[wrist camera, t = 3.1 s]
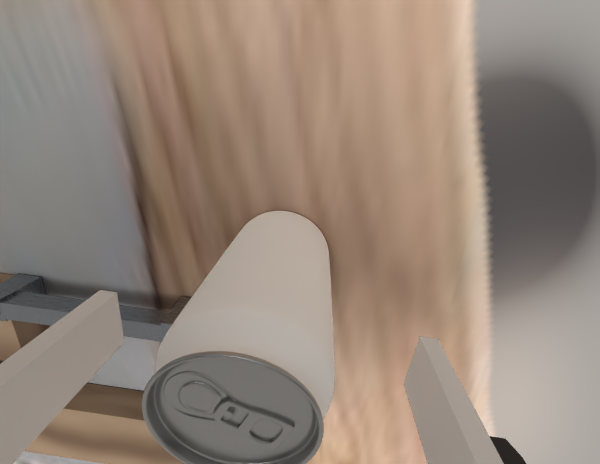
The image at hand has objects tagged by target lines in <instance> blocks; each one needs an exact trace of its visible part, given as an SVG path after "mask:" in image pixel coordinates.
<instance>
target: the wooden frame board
mask: <svg viewBox="0 0 600 464" xmlns="http://www.w3.org/2000/svg"><path fill="white" fill-rule="evenodd" d="M13 276H15V275H11V274H3V273H0V283H1V282H3V281H5V280H7V279H9V278H11V277H13ZM49 327H50V325H43V324H36V323H29V322H22V321H15V320H8V321H0V360H1V361H5V360H6V359H8V358H9V357H10V356H12V355H13V354H14V353H16V352H17V351H18V350H20V349H21V348H22V347H24V346H25V345H26V344H28V343H29V342H30V341H32V340H33V339H35V338H36V337H37V336H39V335H40V334H41V333H43V332H44V331H45V330H47V329H48V328H49ZM143 393H144V391H138V390H131V389H124V388H117V387H111V386H104V385H97V384H90V383H86V384H85V385H84V386H83V388H82V389H81V390H80V391H79V392H78V393H77V394H76V395H75V396H74V397H73V398H72V400H71V401H70V402H69V403H68V404H67V405H66V406H65V407H64V408H63V409H62V410H61V412H60V413H59V414H58V415H57V416H56V417H55V418H54V419H53V420H52V421H51V422H50V423H49V425H48V426H47V427H46V428H45V429H44V430H43V431H42V432H41V433H40V434H39V435H38V437H37V438H36V439H35V440H34V441H33V442H32V443H31V444H30V445H29V446H28V447H27V449H26V450H25V451H27V452H33V453H39V454H46V455H52V456H59V457H65V458H72V459H78V460H84V461H91V462H97V463H104V464H185V463H183V462H181V461H180V460H178V459H176V458H175V457H174V456H172V455H171V454H170V453H168V452H167V451H166V450H165V449H164V448H163V447H162V446H161V445H160V444H159V443H158V442H157V441H156V440H155V438H154V437H153V436H152V434H151V433H150V431H149V429H148V427H147V425H146V423H145V420H144V417H143V413H142V397H143Z"/></svg>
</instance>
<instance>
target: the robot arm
mask: <svg viewBox="0 0 600 464" xmlns="http://www.w3.org/2000/svg"><path fill="white" fill-rule="evenodd" d="M123 343H124V336H123V329H122V322H121V316H120V309H119V302H118V296H117V292H111V291H104V290H99V291H98V292H97V293H95V294H94V295H93V296H91V297H90V298H89V299H87V300H86V301H84V302H83V303H82V304H80V305H79V306H78V307H76V308H75V309H74V310H72V311H71V312H70V313H68V314H67V315H66V316H64V317H63V318H62V319H60V320H59V321H57V322H56V323H55V324H53V325H52V326H51V327H49V328H48V329H47V330H45V331H44V332H43V333H41V334H40V335H39V336H37V337H36V338H35V339H33V340H32V341H30V342H29V343H28V344H26V345H25V346H24V347H22V348H21V349H20V350H18V351H17V352H16V353H14V354H13V355H12V356H10V357H9V358H8V359H6V360H5V361H1V360H0V464H13V463H14V462H15V461H16V459H17V458H18V457H19V456H20V455H21V454H22V453H23V452H24V451H25V450H26V449H27V447H28V446H29V445H30V444H31V443H32V442H33V441H34V440H35V439H36V438H37V437H38V435H39V434H40V433H41V432H42V431H43V430H44V429H45V428H46V427H47V426H48V425H49V423H50V422H51V421H52V420H53V419H54V418H55V417H56V416H57V415H58V414H59V413H60V412H61V410H62V409H63V408H64V407H65V406H66V405H67V404H68V403H69V402H70V401H71V400H72V398H73V397H74V396H75V395H76V394H77V393H78V392H79V391H80V390H81V389H82V388H83V386H84V385H85V384H86V383H87V382H88V381H89V380H90V379H91V378H92V377H93V376H94V374H95V373H96V372H97V371H98V370H99V369H100V368H101V367H102V366H103V365H104V364H105V362H106V361H107V360H108V359H109V358H110V357H111V356H112V355H113V354H114V353H115V352H116V350H117V349H118V348H119V347H120V346H121V345H122V344H123ZM404 387H405V390H406V393H407V397H408V400H409V403H410V407H411V410H412V413H413V417H414V420H415V423H416V427H417V430H418V433H419V437H420V440H421V443H422V446H423V450H424V453H425V456H426V460H427V463H428V464H526V463H525V461H524V460H523V458H522V457H521V455H520V454H519V453H518V452H517V451H516V450H515V449H514V448H513V447H512V446H511V445H510V443H509V442H508V441H507V440H506V439H503V438H498V437H491V436H489V435H488V433H487V431H486V429H485V427H484V425H483V423H482V421H481V420H480V418H479V416H478V414H477V412H476V410H475V408H474V406H473V404H472V402H471V400H470V399H469V397H468V395H467V393H466V391H465V389H464V387H463V385H462V383H461V381H460V380H459V378H458V376H457V374H456V372H455V370H454V368H453V366H452V364H451V362H450V361H449V359H448V357H447V355H446V353H445V351H444V349H443V347H442V345H441V343H440V341H439V340H438V339H434V338H427V337H420V338H419V340H418V343H417V346H416V349H415V352H414V355H413V358H412V361H411V364H410V367H409V370H408V373H407V376H406V379H405V382H404Z"/></svg>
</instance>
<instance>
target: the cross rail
mask: <svg viewBox="0 0 600 464" xmlns="http://www.w3.org/2000/svg"><path fill="white" fill-rule="evenodd" d="M190 299H191V297H185V296H182V297H181V298H180V299H179V300H178V302H177V303H176V304H175V305H174V307H173V308H172V309H171V310H170V312H167V311H159V310H152V309H145V308H138V307H131V306H124V305H119V309H120V316H121V322H122V329H123V336H127V337H134V338H141V339H148V340H155V341H162V340H163V339H164V337H165V335H166V333H167V332H168V330H169V329H170V327H171V326H172V324H173V323H174V321H175V320H176V318H177V317H178V316H179V314H180V313H181V311H182V310H183V309H184V307H185V306H186V304H187V303H188V302H189V300H190ZM84 301H86V300H81V299H74V298H66V297H59V296H52V295H46V293H45V289H44V285H43V282H42V278H41V277H40V276H33V275H26V274H17V275H15V276H13V277H11V278H9V279H7V280H5V281H3V282H1V283H0V321H8V320H15V321H22V322H29V323H36V324H43V325H50V326H52V325H53V324H55V323H56V322H57V321H59V320H60V319H62V318H63V317H64V316H66V315H67V314H68V313H70V312H71V311H72V310H74V309H75V308H76V307H78V306H79V305H80V304H82V303H83V302H84Z"/></svg>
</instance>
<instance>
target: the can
mask: <svg viewBox="0 0 600 464" xmlns="http://www.w3.org/2000/svg"><path fill="white" fill-rule="evenodd" d="M334 385H335V358H334V335H333V315H332V295H331V277H330V261H329V250H328V246H327V242H326V240H325V238H324V236H323V234H322V232H321V231H320V230H319V229H318V227H317V226H316V225H315V224H314V223H312V222H311V221H310V220H308V219H307V218H305V217H303V216H301V215H299V214H296V213H293V212H288V211H271V212H267V213H263V214H261V215H259V216H257V217H255V218H253V219H252V220H250V221H249V222H248V223H247V224H246V225H245V226H244V227H243V228H242V229H241V231H240V232H239V233H238V235H237V236H236V237H235V239H234V240H233V241H232V243H231V244H230V245H229V247H228V248H227V249H226V251H225V252H224V254H223V255H222V256H221V258H220V259H219V260H218V262H217V263H216V264H215V266H214V267H213V269H212V270H211V271H210V273H209V274H208V275H207V277H206V278H205V280H204V281H203V282H202V284H201V285H200V286H199V288H198V289H197V291H196V292H195V293H194V295H193V296H192V297H191V299H190V300H189V302H188V303H187V304H186V306H185V307H184V309H183V310H182V311H181V313H180V314H179V316H178V317H177V318H176V320H175V321H174V323H173V324H172V326H171V327H170V329H169V330H168V332H167V333H166V335H165V337H164V339H163V340H162V342H161V344H160V347H159V350H158V353H157V358H156V364H155V373H154V375H153V376H152V377H151V379H150V380H149V382H148V383H147V385H146V387H145V390H144V393H143V397H142V413H143V417H144V420H145V423H146V425H147V427H148V429H149V431H150V433H151V434H152V436H153V437H154V438H155V440H156V441H157V442H158V443H159V444H160V445H161V446H162V447H163V448H164V449H165V450H166V451H167V452H168V453H170V454H171V455H172V456H174V457H175V458H176V459H178V460H180V461H181V462H183V463H185V464H306V463H307V462H308V461H309V460H310V459H311V458H312V457H313V456H314V455H315V454H316V452H317V451H318V449H319V447H320V445H321V442H322V438H323V433H324V423H323V419H324V417H325V415H326V413H327V411H328V409H329V406H330V404H331V401H332V398H333V394H334Z"/></svg>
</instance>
